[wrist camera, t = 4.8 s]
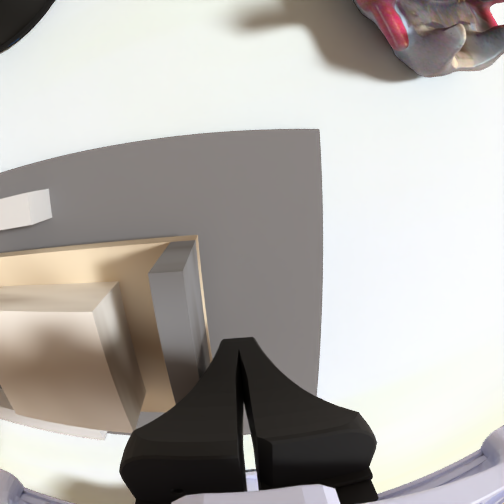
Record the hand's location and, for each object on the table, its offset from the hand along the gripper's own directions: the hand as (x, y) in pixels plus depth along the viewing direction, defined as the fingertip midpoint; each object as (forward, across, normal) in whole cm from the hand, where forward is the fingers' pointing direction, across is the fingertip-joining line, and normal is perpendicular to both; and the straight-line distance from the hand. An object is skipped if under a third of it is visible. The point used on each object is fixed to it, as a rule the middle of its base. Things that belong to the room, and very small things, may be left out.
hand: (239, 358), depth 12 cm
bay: (+4, +11, 0) cm, 12 cm away
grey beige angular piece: (+4, +7, 0) cm, 8 cm away
